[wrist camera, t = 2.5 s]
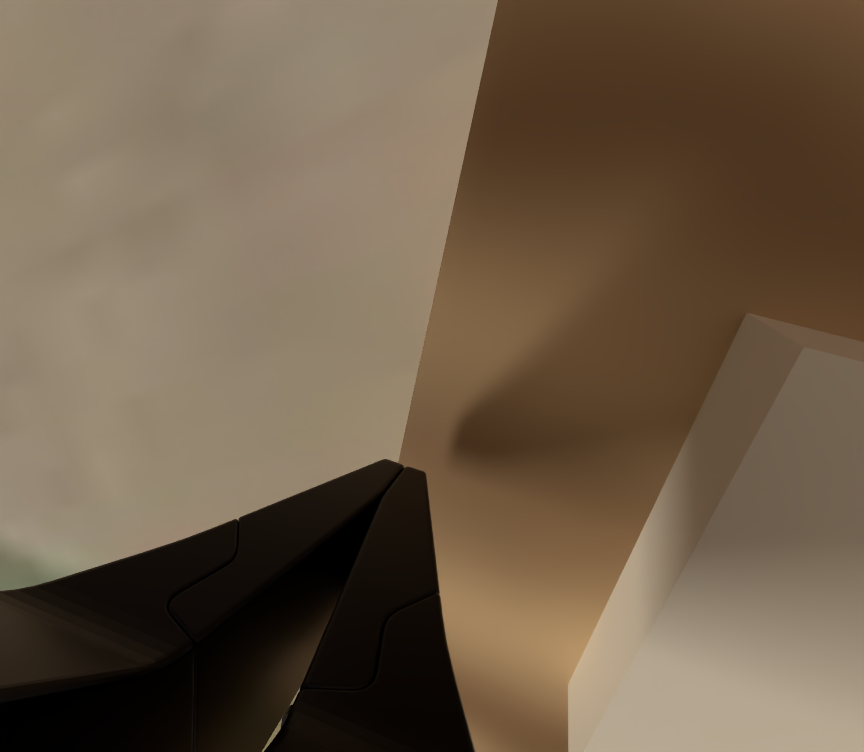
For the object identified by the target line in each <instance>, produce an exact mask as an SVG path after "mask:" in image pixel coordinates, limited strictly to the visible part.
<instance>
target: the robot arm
mask: <svg viewBox="0 0 864 752" xmlns="http://www.w3.org/2000/svg"><path fill="white" fill-rule="evenodd" d="M300 686H301V687H300ZM299 688H300V692H299V693H298V695H297V697H296V699H295V701H294V704H293V705H290V703H291V702H292V700H293V698H294V696H295V695H296V693H297V691H298V690H299ZM289 705H290V706H289ZM284 713H285V714H284ZM282 717H283V718H282ZM281 718H282V723H281V730H280V731H279V732H278V734H277V735H276V737H275V738H274V739H273V741H272V742H271V743H270V745H269V746H268V747H267V748H266V750H265V751H264V752H475V748H474V745H473V741H472V737H471V733H470V730H469V726H468V722H467V719H466V715H465V711H464V708H463V704H462V700H461V697H460V693H459V689H458V686H457V682H456V678H455V674H454V670H453V666H452V662H451V657H450V653H449V649H448V644H447V639H446V633H445V626H444V620H443V613H442V605H441V597H440V590H439V581H438V572H437V563H436V555H435V546H434V537H433V529H432V520H431V511H430V503H429V494H428V485H427V476H426V473H425V472H424V471H421V470H418V469H415V468H412V467H408V466H407V467H405V468H404V466H403V465H402V464H400V463H397V462H394V461H391V460H388V459H383V460H380V461H378V462H375V463H373V464H371V465H368V466H366V467H363V468H361V469H358V470H356V471H353V472H351V473H348V474H346V475H343V476H341V477H338V478H336V479H333V480H331V481H328V482H326V483H324V484H321V485H319V486H316V487H314V488H311V489H309V490H306V491H304V492H301V493H299V494H296V495H294V496H291V497H289V498H286V499H284V500H281V501H279V502H277V503H274V504H272V505H269V506H267V507H264V508H262V509H259V510H257V511H254V512H252V513H249V514H247V515H244V516H242V517H240V518H239V521H238V520H237V519H234V520H232V521H229V522H227V523H224V524H222V525H219V526H217V527H214V528H212V529H209V530H206V531H204V532H201V533H198V534H196V535H193V536H190V537H188V538H185V539H182V540H179V541H176V542H173V543H170V544H167V545H164V546H161V547H158V548H155V549H152V550H149V551H146V552H143V553H140V554H137V555H133V556H130V557H127V558H124V559H120V560H117V561H114V562H111V563H108V564H104V565H101V566H98V567H95V568H92V569H88V570H85V571H82V572H79V573H76V574H72V575H69V576H66V577H63V578H60V579H56V580H53V581H50V582H46V583H43V584H39V585H35V586H31V587H26V588H21V589H15V590H6V591H0V752H262V750H263V748H264V747H265V745H266V743H267V742H268V740H269V738H270V737H271V735H272V733H273V732H274V730H275V728H276V727H277V725H278V723H279V722H280V720H281Z"/></svg>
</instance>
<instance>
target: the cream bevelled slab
mask: <svg viewBox="0 0 864 752" xmlns="http://www.w3.org/2000/svg"><path fill="white" fill-rule="evenodd" d="M568 752H864V342H862V341H858V340H854V339H850V338H846V337H842V336H838V335H834V334H830V333H826V332H822V331H818V330H814V329H810V328H806V327H802V326H798V325H794V324H790V323H786V322H782V321H778V320H774V319H770V318H766V317H762V316H758V315H754V314H750V313H746V315H745V317H744V319H743V321H742V323H741V325H740V328H739V330H738V332H737V334H736V336H735V338H734V340H733V342H732V344H731V346H730V348H729V350H728V353H727V355H726V357H725V359H724V361H723V363H722V365H721V367H720V369H719V371H718V373H717V375H716V378H715V380H714V382H713V384H712V386H711V388H710V390H709V392H708V394H707V396H706V398H705V400H704V402H703V405H702V407H701V409H700V411H699V413H698V415H697V417H696V419H695V421H694V423H693V425H692V427H691V430H690V432H689V434H688V436H687V438H686V440H685V442H684V444H683V446H682V448H681V450H680V452H679V455H678V457H677V459H676V461H675V463H674V465H673V467H672V469H671V471H670V473H669V475H668V477H667V480H666V482H665V484H664V486H663V488H662V490H661V492H660V494H659V496H658V498H657V500H656V502H655V505H654V507H653V509H652V511H651V513H650V515H649V517H648V519H647V521H646V523H645V525H644V527H643V529H642V532H641V534H640V536H639V538H638V540H637V542H636V544H635V546H634V548H633V550H632V552H631V554H630V557H629V559H628V561H627V563H626V565H625V567H624V569H623V571H622V573H621V575H620V577H619V579H618V582H617V584H616V586H615V588H614V590H613V592H612V594H611V596H610V598H609V600H608V602H607V604H606V607H605V609H604V611H603V613H602V615H601V617H600V619H599V621H598V623H597V625H596V627H595V629H594V632H593V634H592V636H591V638H590V640H589V642H588V644H587V646H586V648H585V650H584V652H583V654H582V656H581V659H580V661H579V663H578V665H577V667H576V669H575V671H574V673H573V675H572V677H571V679H570V681H569V684H568Z"/></svg>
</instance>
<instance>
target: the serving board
mask: <svg viewBox="0 0 864 752" xmlns="http://www.w3.org/2000/svg"><path fill="white" fill-rule="evenodd" d="M746 313H750V314H754V315H758V316H762V317H766V318H770V319H774V320H778V321H782V322H786V323H790V324H794V325H798V326H802V327H806V328H810V329H814V330H818V331H822V332H826V333H830V334H834V335H838V336H842V337H846V338H850V339H854V340H858V341H862V342H864V0H498V3H497V8H496V12H495V17H494V22H493V26H492V31H491V35H490V40H489V45H488V49H487V54H486V59H485V63H484V68H483V73H482V77H481V82H480V86H479V91H478V96H477V100H476V105H475V110H474V114H473V119H472V124H471V128H470V133H469V137H468V142H467V147H466V151H465V156H464V161H463V165H462V170H461V175H460V179H459V184H458V188H457V193H456V198H455V202H454V207H453V212H452V216H451V221H450V225H449V230H448V235H447V239H446V244H445V249H444V253H443V258H442V263H441V267H440V272H439V276H438V281H437V286H436V290H435V295H434V300H433V304H432V309H431V314H430V318H429V323H428V327H427V332H426V337H425V341H424V346H423V351H422V355H421V360H420V364H419V369H418V374H417V378H416V383H415V388H414V392H413V397H412V402H411V406H410V411H409V415H408V420H407V425H406V429H405V434H404V439H403V443H402V448H401V453H400V457H399V462H398V463H400V464H402V465H403V466H404V468H405V467H407V466H408V467H412V468H415V469H418V470H421V471H424V472H425V473H426V476H427V485H428V494H429V503H430V511H431V520H432V529H433V537H434V546H435V555H436V563H437V572H438V581H439V590H440V597H441V605H442V613H443V620H444V626H445V633H446V639H447V644H448V649H449V653H450V657H451V662H452V666H453V670H454V674H455V678H456V682H457V686H458V689H459V693H460V697H461V700H462V704H463V708H464V711H465V715H466V719H467V722H468V726H469V730H470V733H471V737H472V741H473V745H474V748H475V752H568V684H569V681H570V679H571V677H572V675H573V673H574V671H575V669H576V667H577V665H578V663H579V661H580V659H581V656H582V654H583V652H584V650H585V648H586V646H587V644H588V642H589V640H590V638H591V636H592V634H593V632H594V629H595V627H596V625H597V623H598V621H599V619H600V617H601V615H602V613H603V611H604V609H605V607H606V604H607V602H608V600H609V598H610V596H611V594H612V592H613V590H614V588H615V586H616V584H617V582H618V579H619V577H620V575H621V573H622V571H623V569H624V567H625V565H626V563H627V561H628V559H629V557H630V554H631V552H632V550H633V548H634V546H635V544H636V542H637V540H638V538H639V536H640V534H641V532H642V529H643V527H644V525H645V523H646V521H647V519H648V517H649V515H650V513H651V511H652V509H653V507H654V505H655V502H656V500H657V498H658V496H659V494H660V492H661V490H662V488H663V486H664V484H665V482H666V480H667V477H668V475H669V473H670V471H671V469H672V467H673V465H674V463H675V461H676V459H677V457H678V455H679V452H680V450H681V448H682V446H683V444H684V442H685V440H686V438H687V436H688V434H689V432H690V430H691V427H692V425H693V423H694V421H695V419H696V417H697V415H698V413H699V411H700V409H701V407H702V405H703V402H704V400H705V398H706V396H707V394H708V392H709V390H710V388H711V386H712V384H713V382H714V380H715V378H716V375H717V373H718V371H719V369H720V367H721V365H722V363H723V361H724V359H725V357H726V355H727V353H728V350H729V348H730V346H731V344H732V342H733V340H734V338H735V336H736V334H737V332H738V330H739V328H740V325H741V323H742V321H743V319H744V317H745V315H746Z"/></svg>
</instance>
